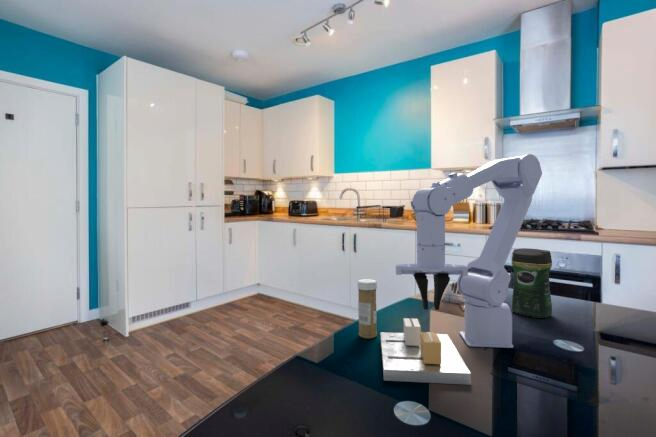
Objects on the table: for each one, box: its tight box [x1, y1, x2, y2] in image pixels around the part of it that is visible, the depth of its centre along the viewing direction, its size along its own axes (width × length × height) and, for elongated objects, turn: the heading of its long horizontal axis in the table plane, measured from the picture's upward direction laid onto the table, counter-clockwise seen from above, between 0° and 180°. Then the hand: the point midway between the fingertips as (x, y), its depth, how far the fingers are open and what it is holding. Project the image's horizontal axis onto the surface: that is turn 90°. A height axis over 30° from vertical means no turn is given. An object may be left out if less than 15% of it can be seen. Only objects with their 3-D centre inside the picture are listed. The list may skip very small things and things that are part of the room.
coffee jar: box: [510, 247, 553, 319], centre depth 96 cm, size 10×8×19 cm
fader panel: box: [380, 331, 472, 386], centre depth 69 cm, size 15×18×2 cm
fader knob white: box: [402, 317, 422, 346], centre depth 73 cm, size 3×5×4 cm, turn 173°
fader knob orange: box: [420, 331, 441, 364], centre depth 65 cm, size 3×5×4 cm, turn 173°
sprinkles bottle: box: [357, 278, 378, 339], centre depth 82 cm, size 5×5×14 cm
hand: (430, 308), depth 73 cm, fingers closed
